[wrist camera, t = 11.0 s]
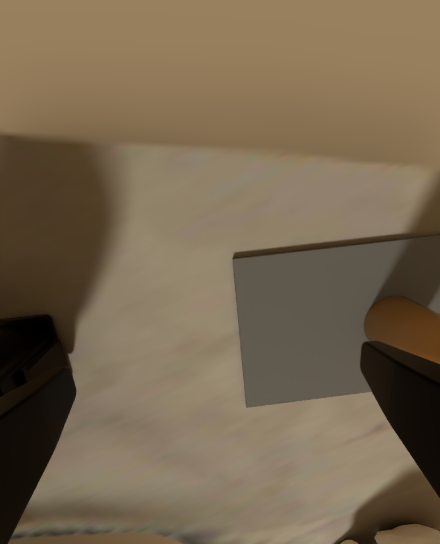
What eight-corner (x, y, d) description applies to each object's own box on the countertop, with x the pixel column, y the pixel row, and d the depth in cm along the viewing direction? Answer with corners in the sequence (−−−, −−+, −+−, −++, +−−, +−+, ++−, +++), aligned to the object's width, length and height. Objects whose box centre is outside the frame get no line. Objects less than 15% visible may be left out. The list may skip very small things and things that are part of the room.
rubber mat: (245, 404, 25) (246, 407, 24) (232, 258, 21) (233, 259, 20) (434, 380, 25) (438, 383, 25) (456, 232, 21) (461, 233, 21)
